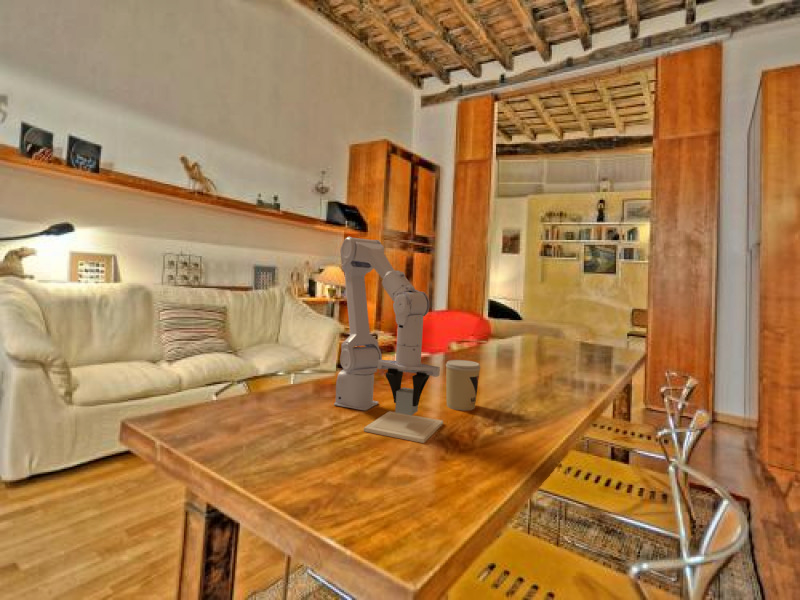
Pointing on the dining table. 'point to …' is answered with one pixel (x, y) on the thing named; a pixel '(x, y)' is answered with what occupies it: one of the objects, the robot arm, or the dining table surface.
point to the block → (405, 402)
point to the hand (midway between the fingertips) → (406, 403)
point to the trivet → (404, 426)
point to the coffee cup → (461, 384)
